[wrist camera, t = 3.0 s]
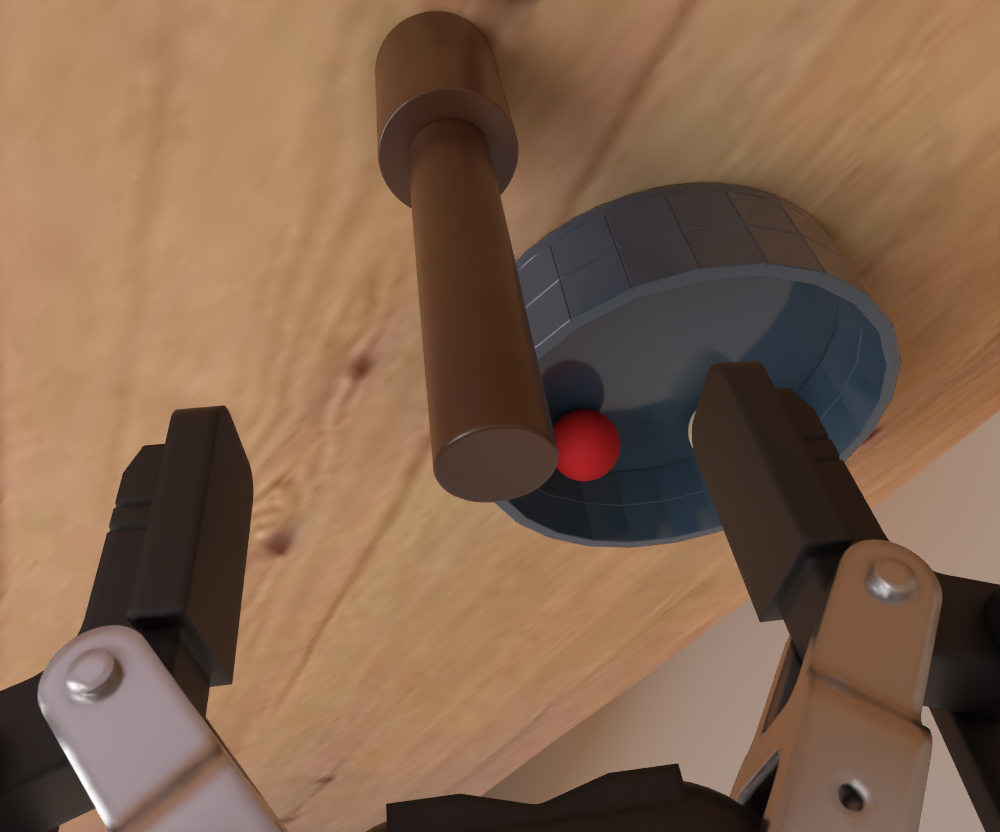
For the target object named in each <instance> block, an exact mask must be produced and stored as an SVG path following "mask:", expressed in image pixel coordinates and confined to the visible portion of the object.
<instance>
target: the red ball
mask: <svg viewBox="0 0 1000 832" xmlns="http://www.w3.org/2000/svg"><path fill="white" fill-rule="evenodd" d="M553 430H554V435H555V439H556V443H557V448H558V452H559V458H558V463H557V466H556V468H557V469H558V470H559V471H560V472H561V473H562V474H563V475H565V476H566V477H568V478H571V479H573V480H577V481H591V480H595V479H598V478H600V477H602V476H604V475H605V474H607V473H608V472H609V471H610V470H611V469H612V468H613V466H614V465H615V463H616V461H617V459H618V456H619V453H620V438H619V435H618V432H617V429H616V428H615V426H614V424H613V423H612V422H611V421H610V420H609V419H608V418H607V417H606V416H604V415H603V414H601V413H599V412H596V411H593V410H588V409H581V410H575V411H572V412H569V413H567V414H565V415H564V416H562V417H561V418H560V419H559V420H558V421H557V422H556V423H555V425H554V426H553Z"/></svg>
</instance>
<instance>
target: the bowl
mask: <svg viewBox="0 0 1000 832" xmlns="http://www.w3.org/2000/svg"><path fill="white" fill-rule="evenodd" d="M515 263H516V268H517V272H518V276H519V281H520V285H521V289H522V294H523V298H524V303H525V307H526V311H527V316H528V320H529V325H530V329H531V333H532V338H533V342H534V347H535V351H536V355H537V360H538V364H539V369H540V373H541V377H542V382H543V386H544V391H545V395H546V399H547V404H548V408H549V413H550V417H551V421H552V426H554V425H555V423H556V422H557V421H558V420H559V419H560V418H561V417H562V416H564V415H565V414H567V413H569V412H572V411H575V410H581V409H588V410H593V411H596V412H599V413H601V414H603V415H604V416H606V417H607V418H608V419H609V420H610V421H611V422H612V423H613V424H614V426H615V428H616V429H617V432H618V435H619V438H620V453H619V456H618V459H617V461H616V463H615V465H614V466H613V468H612V469H611V470H610V471H609V472H608V473H607V474H605V475H604V476H602V477H600V478H598V479H595V480H591V481H577V480H573V479H571V478H568V477H566V476H565V475H563V474H562V473H561V472H560V471H559V470H558V469H557V468H555V471H554V472H553V474H552V475H551V477H550V478H549V479H548V480H547V481H546V482H545V483H544V484H543V485H541V486H540V487H539V488H537V489H535V490H534V491H532V492H530V493H528V494H526V495H523V496H521V497H518V498H514V499H511V500H506V501H500V502H495V503H496V504H497V505H498V506H499V507H500V508H501V509H502V510H504V511H505V512H506V513H507V514H508V515H509V516H510V517H511V518H512V519H514V520H515V521H516V522H517V523H519V524H521V525H523V526H525V527H527V528H529V529H532V530H534V531H536V532H538V533H540V534H542V535H545V536H547V537H549V538H552V539H557V540H562V541H566V542H571V543H576V544H580V545H585V546H596V547H624V548H630V547H631V548H633V547H642V546H651V545H660V544H669V543H674V542H675V543H676V542H680V541H684V540H688V539H692V538H696V537H701V536H705V535H709V534H713V533H717V532H719V531H723V530H724V529H723V527H722V524H721V522H720V519H719V517H718V514H717V511H716V509H715V506H714V504H713V501H712V499H711V496H710V494H709V491H708V489H707V486H706V483H705V481H704V478H703V476H702V473H701V471H700V468H699V466H698V463H697V461H696V458H695V455H694V451H693V448H692V446H691V443H690V440H689V435H688V427H689V422H690V419H691V417H692V415H693V413H694V412H695V410H696V409H697V406H698V403H699V399H700V396H701V393H702V389H703V386H704V383H705V379H706V376H707V373H708V370H709V368H710V367H711V365H713V364H719V363H731V362H742V361H753V360H756V361H759V362H760V363H761V364H762V365H763V366H764V368H765V370H766V371H767V373H768V375H769V377H770V379H771V381H772V383H773V385H774V387H775V389H785V388H791V389H792V390H793V391H794V392H795V393H796V394H797V395H799V396H800V397H801V398H802V399H803V400H804V401H805V402H807V403H808V404H809V405H810V406H811V407H812V408H813V409H814V410H815V411H816V413H817V415H818V417H819V419H820V420H821V422H822V424H823V426H824V427H825V429H826V431H827V433H828V439H831V440H832V442H833V443H834V445H835V447H836V449H837V451H838V452H839V454H840V456H839V458H840V460H843V461H844V462H845V461H846V460H847V459H848V458H849V457H850V456H851V455H852V454H853V453H854V451H855V450H856V449H857V448H858V447H859V446H860V445H861V444H862V443H863V442H864V441H865V440H866V439H867V438H868V437H869V436H870V434H871V433H872V432H873V430H874V429H875V427H876V425H877V424H878V422H879V420H880V418H881V417H882V415H883V413H884V412H885V410H886V408H887V406H888V405H889V403H890V401H891V400H892V397H893V394H894V390H895V385H896V381H897V376H898V372H899V367H900V362H901V358H900V353H899V348H898V343H897V339H896V334H895V329H894V325H893V323H892V321H891V320H890V318H889V317H888V316H887V314H886V313H885V311H884V310H883V309H882V307H881V306H880V304H879V303H878V302H877V300H876V299H875V297H874V296H873V295H872V293H871V292H870V290H869V289H868V288H867V286H866V285H865V283H864V282H863V281H862V279H861V278H860V276H859V275H858V274H857V272H856V271H855V269H854V268H853V267H852V265H851V264H850V262H849V261H848V260H847V258H846V257H845V255H844V254H843V253H842V252H841V250H840V249H839V248H838V247H837V245H836V244H835V243H834V242H833V240H832V239H831V238H830V236H829V235H828V233H827V232H826V231H825V229H824V228H823V227H822V226H821V225H820V224H819V223H818V222H817V221H816V220H815V219H814V218H813V217H812V216H811V215H809V214H808V213H806V212H805V211H803V210H802V209H800V208H799V207H798V206H796V205H795V204H793V203H791V202H789V201H787V200H784V199H782V198H780V197H778V196H775V195H773V194H771V193H767V192H764V191H760V190H756V189H753V188H749V187H745V186H737V185H728V184H720V183H693V184H682V185H674V186H666V187H659V188H655V189H651V190H647V191H643V192H638V193H634V194H630V195H627V196H625V197H622V198H619V199H616V200H613V201H611V202H608V203H605V204H602V205H600V206H598V207H596V208H594V209H592V210H590V211H587V212H585V213H583V214H581V215H579V216H577V217H575V218H573V219H571V220H570V221H568V222H567V223H565V224H563V225H562V226H560V227H559V228H557V229H555V230H554V231H552V232H551V233H549V234H548V235H546V236H545V237H544V238H542V239H541V240H540V241H539V242H537V243H536V244H535V245H534V246H532V247H531V248H530V249H529V250H527V251H526V252H525V253H524V254H523V255H522V256H521V257H520V258H519V259H518V260H517V261H516V262H515Z"/></svg>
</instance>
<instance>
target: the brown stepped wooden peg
mask: <svg viewBox="0 0 1000 832" xmlns="http://www.w3.org/2000/svg"><path fill="white" fill-rule="evenodd" d="M375 78H376V108H377V139H378V161H379V166H380V170H381V173H382V176H383V178H384V180H385V182H386V184H387V186H388V187H389V189H390V190H391V191H392V193H393V194H394V195H395V196H396V197H397V198H398V199H399V200H400V201H402V202H403V203H404V204H405V205H407V206H409V207H410V208H412V218H413V230H414V242H415V254H416V266H417V278H418V290H419V302H420V314H421V326H422V338H423V351H424V363H425V375H426V387H427V399H428V411H429V423H430V435H431V447H432V459H433V470H434V475H435V477H436V479H437V481H438V482H439V484H440V485H441V486H442V487H443V488H444V489H445V490H446V491H447V492H449V493H450V494H452V495H454V496H456V497H459V498H461V499H465V500H468V501H474V502H500V501H506V500H511V499H514V498H518V497H521V496H523V495H526V494H528V493H530V492H532V491H534V490H535V489H537V488H539V487H540V486H541V485H543V484H544V483H545V482H546V481H547V480H548V479H549V478H550V477H551V475H552V474H553V472H554V471H555V468H556V466H557V463H558V458H559V452H558V448H557V443H556V439H555V435H554V430H553V426H552V421H551V417H550V413H549V408H548V404H547V399H546V395H545V391H544V386H543V382H542V377H541V373H540V369H539V364H538V360H537V355H536V351H535V347H534V342H533V338H532V333H531V329H530V325H529V320H528V316H527V311H526V307H525V303H524V298H523V294H522V289H521V285H520V281H519V276H518V272H517V268H516V263H515V259H514V254H513V250H512V246H511V241H510V237H509V232H508V228H507V224H506V219H505V215H504V210H503V206H502V202H501V197H500V195H501V194H502V192H503V191H504V190H505V189H506V187H507V186H508V184H509V183H510V181H511V179H512V177H513V175H514V172H515V169H516V165H517V161H518V141H517V136H516V132H515V129H514V125H513V122H512V118H511V114H510V111H509V107H508V104H507V100H506V97H505V93H504V90H503V86H502V82H501V79H500V75H499V72H498V68H497V65H496V61H495V58H494V55H493V52H492V49H491V47H490V45H489V43H488V41H487V40H486V38H485V37H484V35H483V34H482V33H481V32H480V31H479V30H478V29H477V28H476V27H475V26H474V25H473V24H472V23H470V22H468V21H467V20H465V19H463V18H461V17H459V16H457V15H454V14H451V13H446V12H424V13H420V14H417V15H414V16H412V17H409V18H407V19H406V20H404V21H402V22H401V23H399V24H398V25H397V26H396V27H395V28H394V29H393V30H392V31H391V32H390V33H389V34H388V36H387V37H386V38H385V40H384V41H383V43H382V45H381V47H380V50H379V53H378V56H377V61H376V69H375Z"/></svg>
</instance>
